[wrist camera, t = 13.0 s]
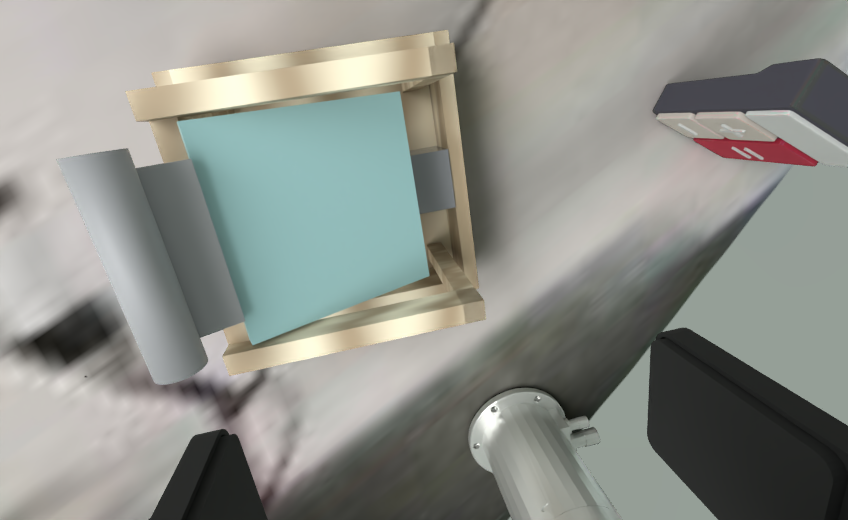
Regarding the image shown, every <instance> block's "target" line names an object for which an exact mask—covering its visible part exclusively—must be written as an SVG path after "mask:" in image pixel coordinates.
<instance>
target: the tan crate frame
mask: <svg viewBox="0 0 848 520" xmlns="http://www.w3.org/2000/svg"><path fill="white" fill-rule="evenodd" d="M455 72H457V65H456V57H455V48H454V43H450V42H449V33H448V30H444V31H437V32H430V33H423V34H416V35H409V36H402V37H395V38H388V39H382V40H375V41H368V42H361V43H354V44H347V45H340V46H333V47H326V48H319V49H312V50H305V51H298V52H291V53H285V54H278V55H271V56H264V57H257V58H250V59H243V60H236V61H229V62H222V63H215V64H208V65H201V66H194V67H187V68H181V69H174V70H167V71H160V72H153V73H152V76H153V79H154V82H155V85H156V87H152V88H145V89H138V90H131V91H125V92H126V95H127V97H128V100H129V103H130V105H131V108H132V111H133V114H134V116H135V119H136V121H149V123H150V125H151V128H152V131H153V134H154V137H155V139H156V142H157V145H158V148H159V151H160V153H161V156H162V159H163V162H164V163H169V162H175V161H180V160H186V159H189V158H188V155H187V152H186V149H185V146H184V143H183V140H182V137H181V134H180V131H179V128H178V125H177V121H183V120H191V119H198V118H205V117H213V116H220V115H228V114H235V113H242V112H250V111H257V110H265V109H272V108H279V107H287V106H294V105H302V104H309V103H317V102H324V101H331V100H339V99H346V98H354V97H361V96H368V95H376V94H383V93H391V92H398V91H400V95H401V101H402V107H403V114H404V120H405V126H406V132H407V139H408V145H409V151H410V150H416V149H421V148H427V147H433V146H439V147H442V148H446V149H448V153H449V161H450V168H451V176H452V183H453V191H454V198H455V206H456V207H455V208H449V209H444V210H439V211H434V212H429V213H423V214H420V219H421V226H422V232H423V238H424V244H425V250H426V257H427V263H428V269H429V275H430V276H428V277H426V278H423V279H420V280H418V281H415V282H413V283H410V284H408V285H405V286H403V287H400V288H398V289H395V290H392V291H390V292H387V293H385V294H382V295H380V296H377V297H375V298H372V299H370V300H367V301H364V302H362V303H359V304H357V305H354V306H352V307H349V308H347V309H344V310H342V311H339V312H336V313H334V314H331V315H329V316H326V317H324V318H321V319H319V320H316V321H314V322H311V323H308V324H306V325H303V326H301V327H298V328H296V329H293V330H291V331H288V332H286V333H283V334H280V335H278V336H275V337H273V338H270V339H268V340H265V341H263V342H260V343H258V344H255V345H252V343H251V342H250V340H249V337H248V334H247V331H246V328H245V325H244V322H242V323H239V324H237V325H234V326H231V327H228V328H226V329H223V330H224V333H225V336H226V339H227V342H228V344H229V345H228V347H227V349H226V351H225V353H224V354H223V356H222V357H223V360H224V362H225V365H226V368H227V370H228V373H229V376H232V375H236V374H241V373H245V372H250V371H254V370H259V369H263V368H268V367H272V366H277V365H281V364H286V363H290V362H295V361H300V360H304V359H309V358H313V357H318V356H322V355H327V354H331V353H336V352H340V351H345V350H349V349H354V348H358V347H363V346H368V345H372V344H377V343H381V342H386V341H390V340H395V339H399V338H404V337H408V336H413V335H417V334H422V333H427V332H431V331H436V330H440V329H445V328H449V327H454V326H458V325H463V324H467V323H472V322H476V321H481V320H485V319H486V314H485V306H484V300H483V298H482V297H481V296H480V294H479V293H478V292H477V290H476V289H478V288H479V284H478V276H477V268H476V259H475V251H474V243H473V234H472V226H471V217H470V209H469V201H468V192H467V184H466V176H465V167H464V159H463V151H462V142H461V134H460V125H459V117H458V109H457V100H456V92H455V84H454V75H453V73H455Z"/></svg>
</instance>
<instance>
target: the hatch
mask: <svg viewBox="0 0 848 520" xmlns="http://www.w3.org/2000/svg"><path fill="white" fill-rule="evenodd" d="M177 125H178V128H179V131H180V134H181V137H182V140H183V143H184V146H185V149H186V152H187V155H188V158H189V159H186V160H180V161H175V162H169V163H163V164H158V165H152V166H146V167H141V168H135V166H134V163H133V161H132V158H131V155H130V153H129V150H128V148H127V149H119V150H112V151H105V152H99V153H92V154H85V155H79V156H73V157H67V158H61V159H56V160H57V163H58V165H59V167H60V169H61V172H62V174H63V176H64V178H65V181H66V183H67V185H68V188H69V190H70V192H71V194H72V197H73V199H74V201H75V203H76V206H77V208H78V210H79V213H80V215H81V217H82V219H83V222H84V224H85V226H86V228H87V231H88V233H89V235H90V238H91V240H92V242H93V244H94V247H95V249H96V251H97V253H98V256H99V258H100V260H101V263H102V265H103V267H104V269H105V272H106V274H107V276H108V278H109V281H110V283H111V285H112V288H113V290H114V292H115V294H116V297H117V299H118V301H119V303H120V306H121V308H122V310H123V313H124V315H125V317H126V319H127V322H128V324H129V326H130V328H131V331H132V333H133V335H134V338H135V340H136V342H137V344H138V347H139V349H140V351H141V353H142V356H143V358H144V360H145V363H146V365H147V367H148V369H149V372H150V374H151V376H152V378H153V381H154V382H155V383H156V384H161V385H164V384H171V383H175V382H178V381H181V380H184V379H186V378H188V377H190V376H192V375H194V374H196V373H197V372H199V371H200V370H201V369H202V368H203V367H204V366H205V365H206V364H207V362H208V358H207V355H206V352H205V350H204V347H203V345H202V342H201V339H200V338H201V337H204V336H206V335H209V334H212V333H215V332H217V331H220V330H223V329H226V328H228V327H231V326H234V325H237V324H239V323H242V322H244V325H245V328H246V331H247V334H248V337H249V340H250V342H251V343H252V345H255V344H258V343H260V342H263V341H265V340H268V339H270V338H273V337H275V336H278V335H280V334H283V333H286V332H288V331H291V330H293V329H296V328H298V327H301V326H303V325H306V324H308V323H311V322H314V321H316V320H319V319H321V318H324V317H326V316H329V315H331V314H334V313H336V312H339V311H342V310H344V309H347V308H349V307H352V306H354V305H357V304H359V303H362V302H364V301H367V300H370V299H372V298H375V297H377V296H380V295H382V294H385V293H387V292H390V291H392V290H395V289H398V288H400V287H403V286H405V285H408V284H410V283H413V282H415V281H418V280H420V279H423V278H426V277H428V276H430V275H429V269H428V263H427V257H426V250H425V244H424V238H423V232H422V226H421V219H420V213H419V207H418V201H417V194H416V188H415V182H414V176H413V170H412V163H411V157H410V151H409V145H408V139H407V132H406V126H405V120H404V114H403V107H402V101H401V95H400V91H398V92H391V93H383V94H376V95H368V96H361V97H354V98H346V99H339V100H331V101H324V102H317V103H309V104H302V105H294V106H287V107H279V108H272V109H265V110H257V111H250V112H242V113H235V114H228V115H220V116H213V117H205V118H198V119H191V120H183V121H177Z"/></svg>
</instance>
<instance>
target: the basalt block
mask: <svg viewBox="0 0 848 520" xmlns="http://www.w3.org/2000/svg"><path fill="white" fill-rule="evenodd" d="M410 157H411V163H412V170H413V176H414V182H415V188H416V194H417V201H418V207H419V213H420V214H423V213H429V212H434V211H439V210H444V209H449V208H455V207H456V206H455V198H454V191H453V183H452V176H451V168H450V161H449V153H448V149H446V148H442V147H439V146H433V147H427V148H421V149H416V150H410Z"/></svg>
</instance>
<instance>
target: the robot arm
mask: <svg viewBox="0 0 848 520" xmlns="http://www.w3.org/2000/svg"><path fill="white" fill-rule="evenodd" d="M586 427H589V421H588V419H587V417H586V416H581V417H577V418H574V419H571V420H568V419H567V418H565V414H564V412H563V410H562V408H561V406H560V405H559V403H558V402H557V401H556V400H555V399H554V398H553V397H552V396H551V395H550V394H548V393H546V392H544V391H542V390H538V389H535V388H516V389H512V390H508V391H505V392H503V393H501V394H498V395H497V396H495V397H493V398H492V399H490V400H489V401H488V402H487V403H485V404H484V405H483V406H482V407H481V408H480V410H479V411H478V412H477V413H476V415H475V417H474V418H473V420H472V422H471V425H470V428H469V434H468V441H469V446H470V449H471V453H472V455H473V457H474V459H475V460H476V461H477V463H478V464H479V465H480V466H481V467H483V468H484V469H485V470H488V471H490V472H492V473H493V474H494V476H495V479H496V481H497V484H498V486H499V489H500V491H501V494H502V496H503V499H504V501H505V504H506V506H507V508H508V511H509V513H510V516H511V518H512V520H623V519H622V518H621V516H620V515H619V513H618V512H617V510H616V509H615V508H614V506H613V505H612V503H611V502H610V500H609V499H608V497H607V496H606V494H605V493H604V491H603V490H602V488H601V487H600V486H599V484H598V483H597V481H596V480H595V478H594V477H593V475H592V474H591V472H590V471H589V470H588V468H587V466H586V465H585V464H584V462H583V461H582V459H581V458H580V456H579V455H578V453H577V452H576V451H577V448H579V447H583V446H585V447H586V446H591V445H595V444H599V443H600V437H599V434H598V432H597V430H596V429H595V428H594V427H592V428H588V429H584V430H580V431H579V432H576V433H572V430H576V429H582V428H586ZM647 436H648V440H649V442H650V444H651V446H652V448H653V449H654V450H655V452H656V453H657V454H658V455H659V456H660V457H661V458H662V459H663V460H664V461H665V462H666V464H667V465H668V466H669V467H670V468H671V469H672V470H673V471H674V472H675V473H676V474H677V475H678V477H679V478H680V479H681V480H682V481H683V482H684V483H685V484H686V485H687V486H688V487H689V488H690V490H691V491H692V492H693V493H694V494H695V495H696V496H697V497H698V498H699V499H700V500H701V501H702V502H703V503H704V505H705V506H706V507H707V508H708V509H709V510H710V511H711V512H712V513H713V514H714V516H715V517H716V518H717V519H718V520H848V426H847V425H846V424H844V423H842V422H841V421H839V420H837V419H836V418H834V417H832V416H831V415H829V414H828V413H826V412H824V411H823V410H821V409H819V408H818V407H816V406H814V405H813V404H811V403H810V402H808V401H806V400H805V399H803V398H801V397H800V396H798V395H797V394H795V393H793V392H792V391H790V390H788V389H787V388H785V387H783V386H782V385H780V384H779V383H777V382H775V381H773V380H772V379H770V378H769V377H767V376H765V375H763V374H762V373H760V372H759V371H757V370H755V369H754V368H752V367H751V366H749V365H747V364H746V363H744V362H742V361H741V360H739V359H738V358H736V357H734V356H733V355H731V354H729V353H727V352H726V351H724V350H723V349H721V348H719V347H718V346H716V345H715V344H713V343H711V342H710V341H708V340H706V339H705V338H703V337H701V336H700V335H698V334H696V333H695V332H693V331H692V330H690V329H687V328H679V329H675V330H670V331H665V332H661V333H659V334H658V335H657V337H656V340H655V341H653V342H652V344H651V355H650V379H649V402H648V426H647ZM149 520H268V519H267V516H266V514H265V511H264V508H263V505H262V503H261V500H260V497H259V494H258V491H257V489H256V486H255V483H254V480H253V477H252V475H251V472H250V469H249V466H248V463H247V461H246V458H245V455H244V452H243V449H242V447H241V444H240V441H239V438H238V436H237V435H236V434H232V435H229V433H228V432H227V431H226V430H225V429H221V430H216V431H212V432H207V433H203V434H198V435H195V436H193V438H192V439H191V440H190V442H189V444H188V446H187V448H186V450H185V452H184V454H183V456H182V458H181V460H180V462H179V464H178V466H177V468H176V470H175V472H174V474H173V476H172V478H171V480H170V482H169V483H168V485H167V487H166V489H165V491H164V493H163V495H162V497H161V499H160V501H159V503H158V505H157V507H156V509H155V511H154V513H153V515H152V517H151V518H150V519H149Z"/></svg>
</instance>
